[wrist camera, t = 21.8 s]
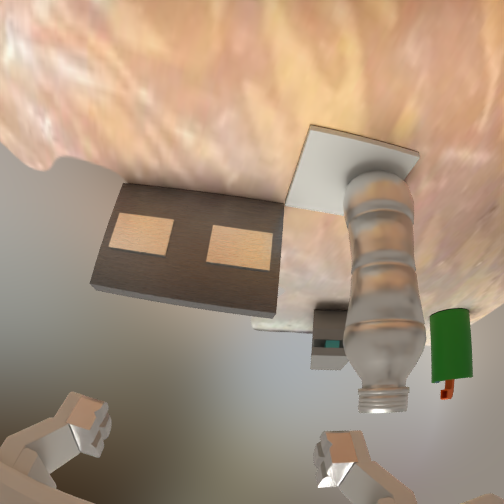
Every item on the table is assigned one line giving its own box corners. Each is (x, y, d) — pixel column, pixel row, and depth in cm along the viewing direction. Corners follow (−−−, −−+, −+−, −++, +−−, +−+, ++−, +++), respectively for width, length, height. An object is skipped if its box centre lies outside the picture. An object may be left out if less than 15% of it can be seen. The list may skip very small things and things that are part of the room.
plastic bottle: (384, 209, 32) (390, 410, 23) (329, 190, 30) (322, 411, 22) (422, 176, 26) (444, 408, 18) (363, 150, 25) (372, 414, 16)
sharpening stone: (342, 330, 82) (340, 370, 78) (313, 329, 84) (310, 369, 79) (354, 300, 60) (353, 356, 56) (314, 300, 62) (311, 355, 57)
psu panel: (122, 181, 33) (88, 282, 28) (284, 202, 34) (276, 312, 29) (126, 193, 35) (96, 290, 30) (281, 213, 36) (272, 318, 31)
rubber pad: (310, 125, 24) (310, 129, 24) (418, 152, 25) (419, 157, 24) (285, 201, 34) (284, 205, 34) (371, 216, 34) (372, 221, 34)
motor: (442, 321, 70) (443, 399, 61) (421, 317, 68) (421, 401, 59) (473, 310, 61) (476, 395, 52) (453, 305, 59) (456, 398, 50)
